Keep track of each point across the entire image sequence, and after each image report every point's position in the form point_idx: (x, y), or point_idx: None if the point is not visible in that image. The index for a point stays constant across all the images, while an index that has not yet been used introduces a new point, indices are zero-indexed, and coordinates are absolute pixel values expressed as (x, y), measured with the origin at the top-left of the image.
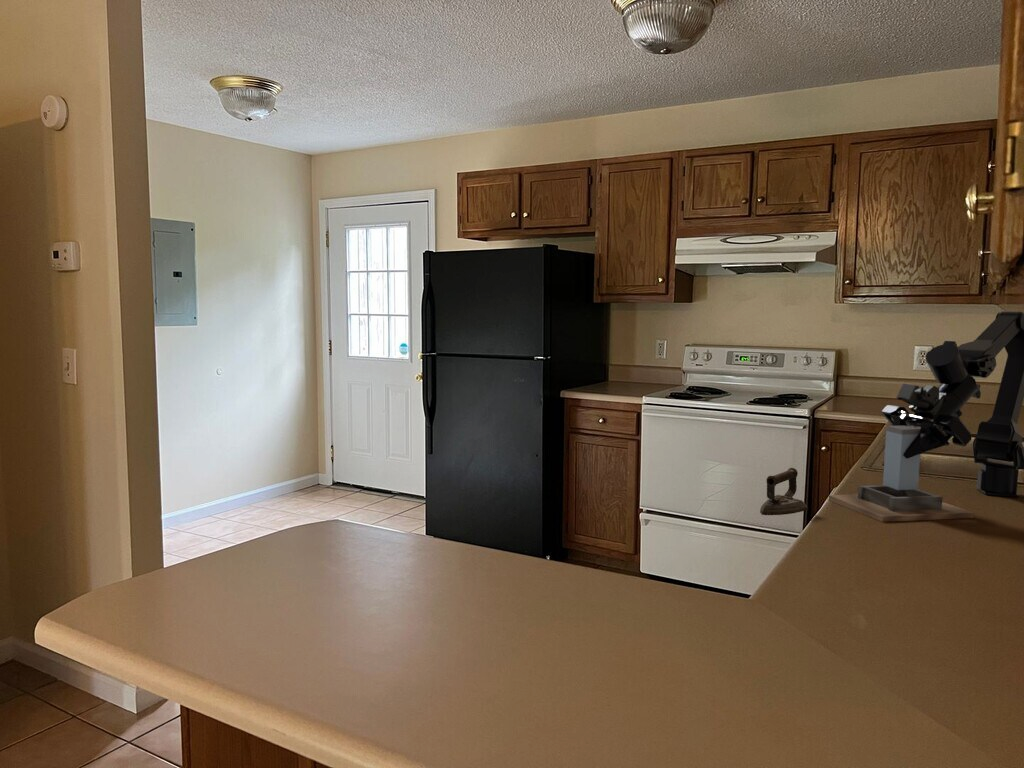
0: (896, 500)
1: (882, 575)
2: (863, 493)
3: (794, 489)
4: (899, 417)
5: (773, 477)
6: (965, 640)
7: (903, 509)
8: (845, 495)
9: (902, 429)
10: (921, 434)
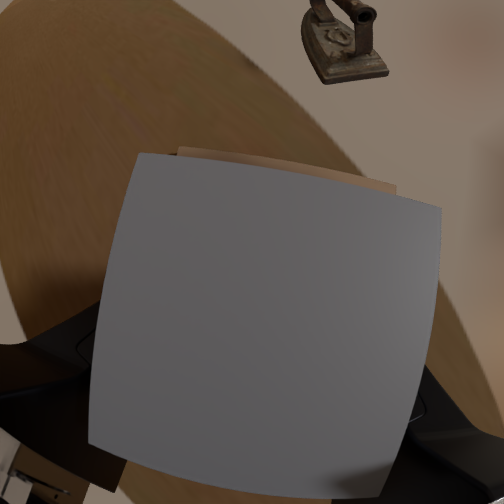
0: None
1: (65, 30)
2: None
3: (357, 50)
4: (497, 488)
5: None
6: (6, 37)
7: None
8: None
9: (141, 157)
10: (61, 348)
